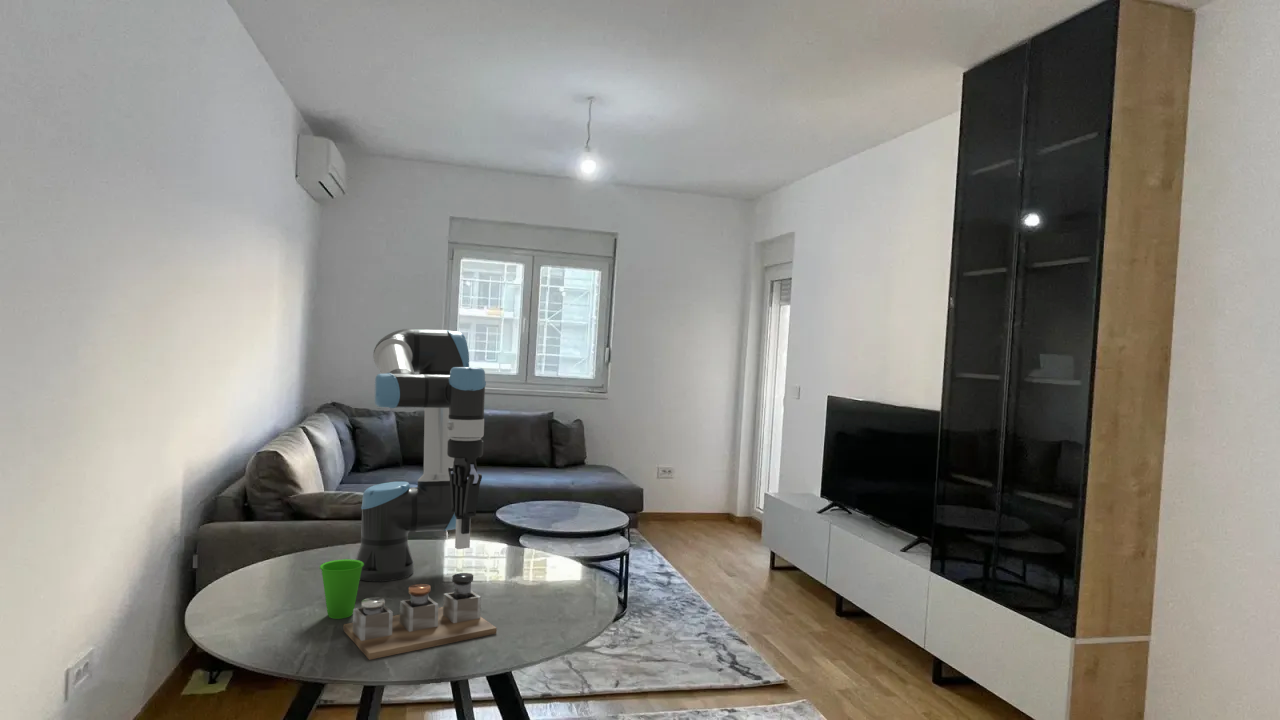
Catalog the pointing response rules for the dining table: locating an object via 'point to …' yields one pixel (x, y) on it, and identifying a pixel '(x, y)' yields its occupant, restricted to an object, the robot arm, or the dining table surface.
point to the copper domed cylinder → (419, 594)
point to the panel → (418, 626)
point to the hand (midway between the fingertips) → (462, 547)
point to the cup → (341, 586)
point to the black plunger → (462, 585)
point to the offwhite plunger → (372, 605)
